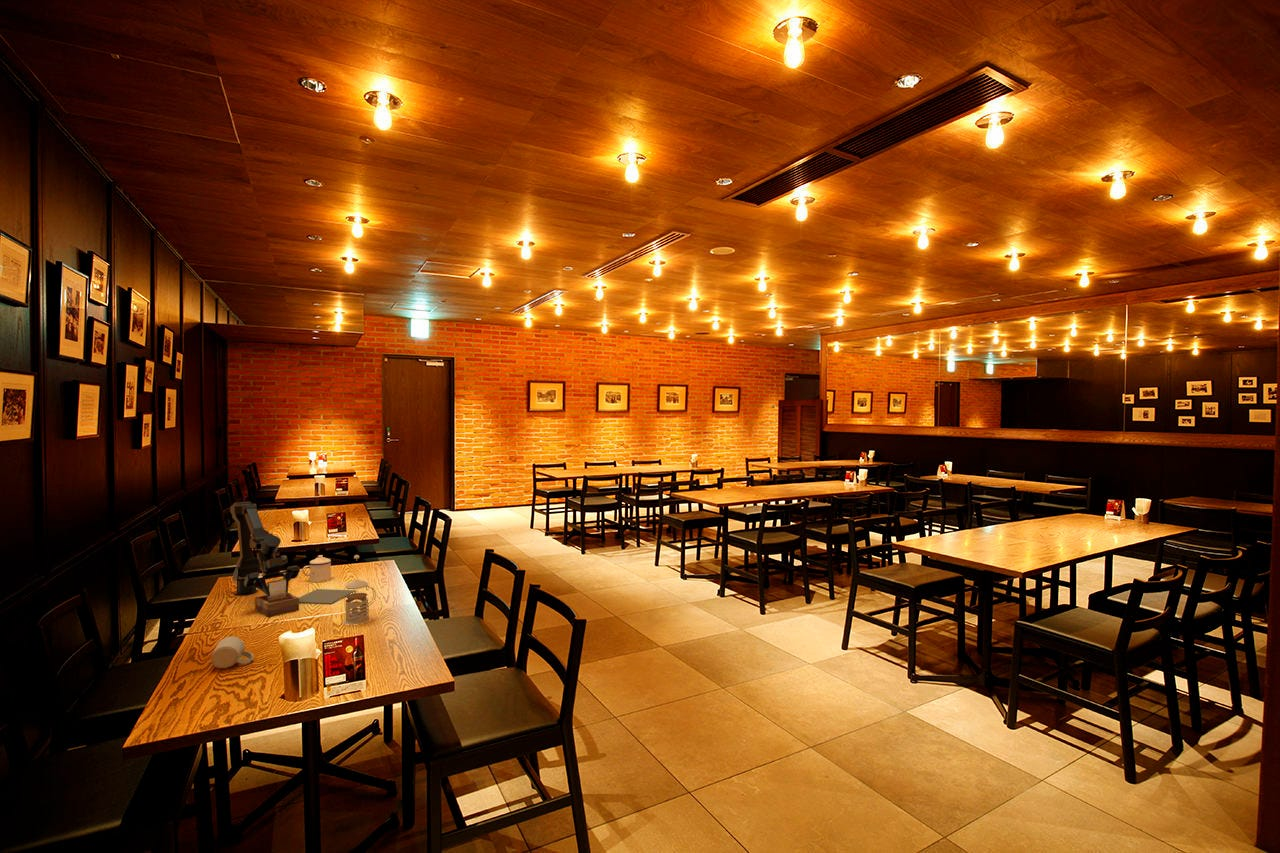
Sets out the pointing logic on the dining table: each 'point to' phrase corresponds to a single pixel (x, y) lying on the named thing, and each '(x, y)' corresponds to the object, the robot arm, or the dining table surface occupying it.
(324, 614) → the dining table surface
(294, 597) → the slot box
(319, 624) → the dining table surface
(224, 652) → the ceramic mug
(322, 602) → the rubber mat
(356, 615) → the french press
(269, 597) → the wooden block
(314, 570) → the teacup with lid
